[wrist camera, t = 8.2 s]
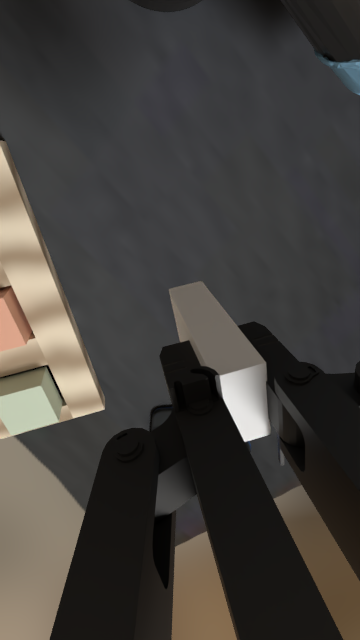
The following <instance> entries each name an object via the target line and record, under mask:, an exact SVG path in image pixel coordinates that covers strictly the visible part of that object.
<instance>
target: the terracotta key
mask: <svg viewBox="0 0 360 640" xmlns="http://www.w3.org/2000/svg"><path fill="white" fill-rule="evenodd" d="M31 332H32V329H31V327H30V324H29V322H28V320H27V318H26V316H25V314H24V312H23V309H22V307H21V305H20V303H19V301H18V299H17V297H16V294H15V292H14V290H13V288H12V286H11V285H10V286H6V287H2V288H0V352H1V351H5V350H8V349H12V348H16V347H20V346H24V345H26V344H27V342H28V339H29V337H30V335H31Z"/></svg>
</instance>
